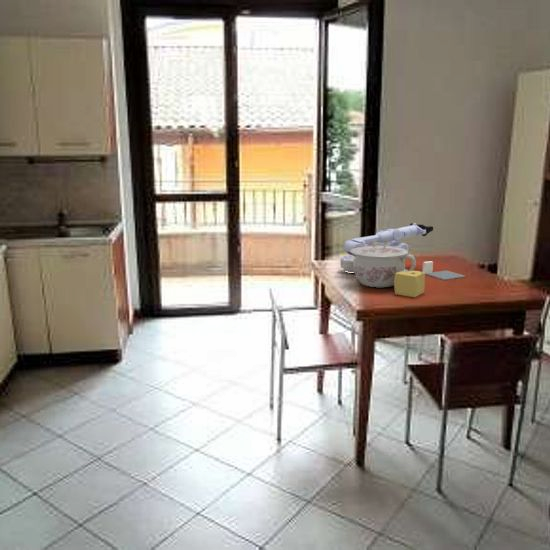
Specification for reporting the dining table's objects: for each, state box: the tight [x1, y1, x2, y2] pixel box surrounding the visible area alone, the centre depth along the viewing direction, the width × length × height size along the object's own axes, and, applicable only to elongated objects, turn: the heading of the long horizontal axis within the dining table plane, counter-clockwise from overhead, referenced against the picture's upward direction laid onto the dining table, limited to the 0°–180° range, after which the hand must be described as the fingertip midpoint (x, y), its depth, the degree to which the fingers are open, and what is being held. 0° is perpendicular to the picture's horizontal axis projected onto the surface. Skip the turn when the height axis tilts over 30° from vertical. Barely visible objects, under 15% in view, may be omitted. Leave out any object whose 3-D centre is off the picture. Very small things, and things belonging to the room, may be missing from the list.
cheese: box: [393, 270, 426, 298], centre depth 249 cm, size 10×11×10 cm
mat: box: [425, 270, 467, 281], centre depth 281 cm, size 14×14×1 cm
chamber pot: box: [350, 242, 417, 289], centre depth 264 cm, size 28×28×21 cm
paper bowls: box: [339, 254, 355, 272], centre depth 291 cm, size 15×15×8 cm
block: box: [422, 260, 434, 275], centre depth 287 cm, size 5×2×6 cm, turn 115°
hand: (427, 227), depth 297 cm, fingers open, 7 cm apart
